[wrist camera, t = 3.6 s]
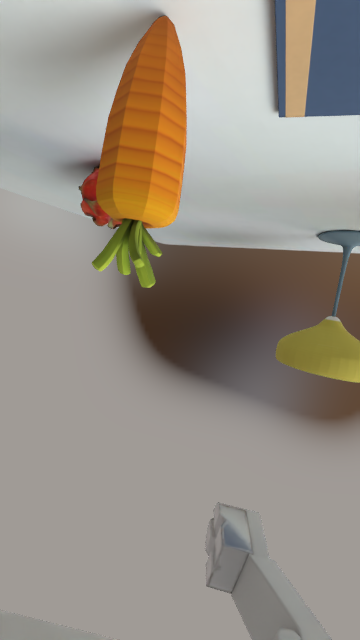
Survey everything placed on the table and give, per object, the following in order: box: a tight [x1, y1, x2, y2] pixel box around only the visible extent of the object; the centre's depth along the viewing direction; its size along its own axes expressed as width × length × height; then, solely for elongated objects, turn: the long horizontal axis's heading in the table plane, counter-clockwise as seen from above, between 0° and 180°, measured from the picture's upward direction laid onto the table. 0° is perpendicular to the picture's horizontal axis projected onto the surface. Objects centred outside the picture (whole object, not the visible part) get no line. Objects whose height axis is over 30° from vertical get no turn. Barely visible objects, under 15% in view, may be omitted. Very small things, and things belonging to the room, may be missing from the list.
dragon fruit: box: [79, 167, 122, 229], centre depth 42 cm, size 8×8×12 cm
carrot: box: [92, 16, 187, 287], centre depth 18 cm, size 5×5×15 cm
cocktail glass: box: [276, 231, 360, 383], centre depth 58 cm, size 18×18×25 cm
